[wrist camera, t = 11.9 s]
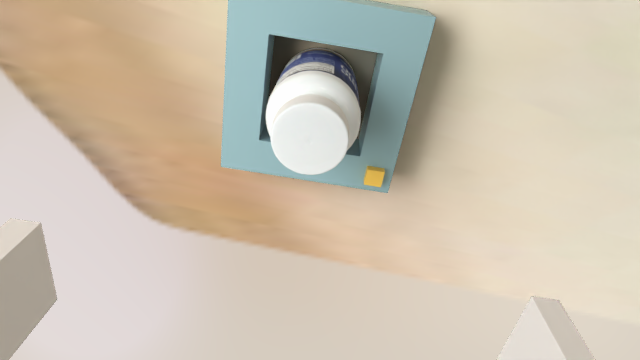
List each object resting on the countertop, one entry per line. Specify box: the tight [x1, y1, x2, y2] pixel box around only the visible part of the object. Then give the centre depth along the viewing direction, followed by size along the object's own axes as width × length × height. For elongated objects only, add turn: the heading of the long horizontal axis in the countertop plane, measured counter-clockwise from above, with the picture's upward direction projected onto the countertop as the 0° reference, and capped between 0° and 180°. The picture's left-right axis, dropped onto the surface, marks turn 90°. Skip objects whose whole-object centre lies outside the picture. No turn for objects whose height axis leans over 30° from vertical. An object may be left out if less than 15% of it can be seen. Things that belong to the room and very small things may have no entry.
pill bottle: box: [266, 48, 361, 175], centre depth 25 cm, size 5×5×10 cm
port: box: [221, 0, 436, 193], centre depth 28 cm, size 12×12×4 cm
